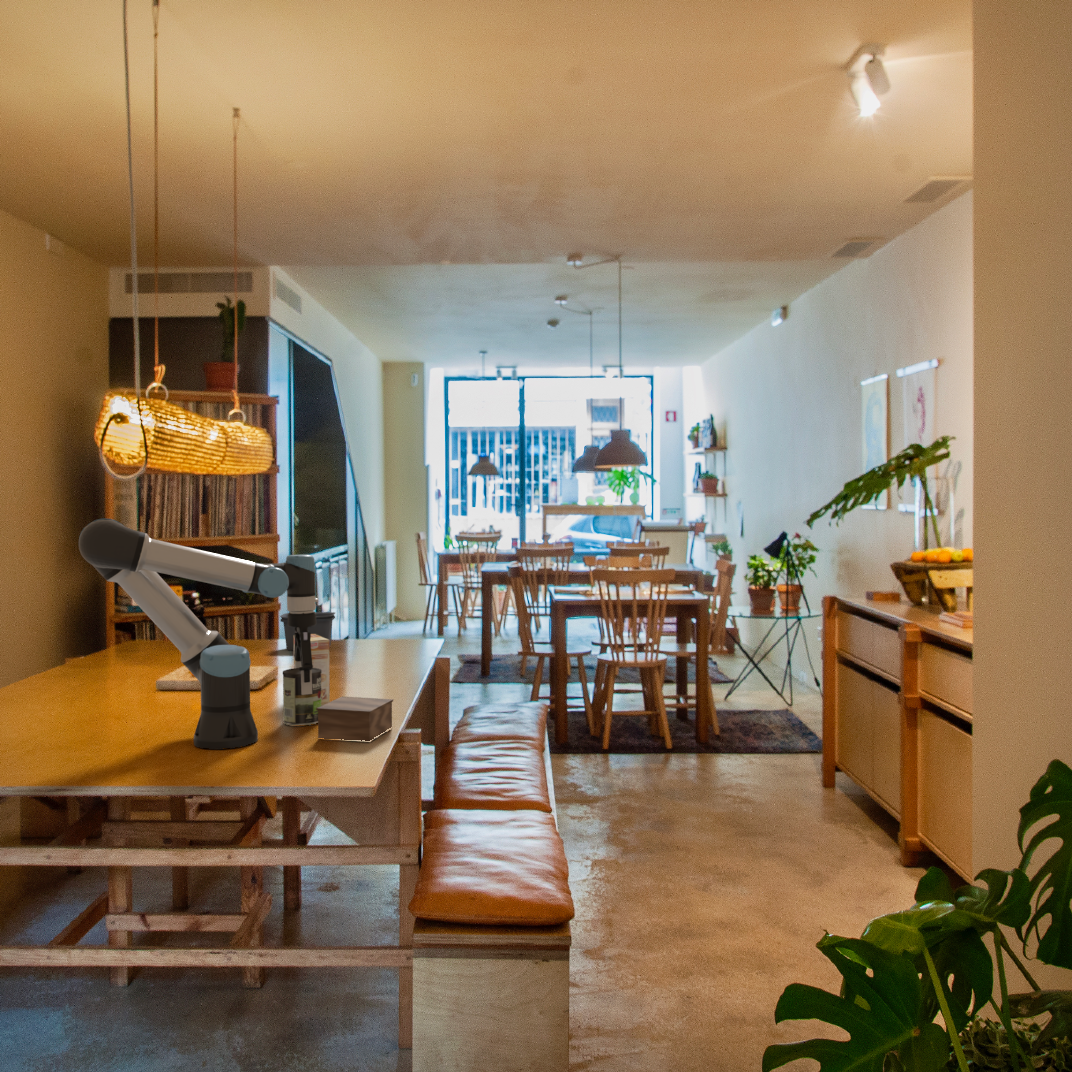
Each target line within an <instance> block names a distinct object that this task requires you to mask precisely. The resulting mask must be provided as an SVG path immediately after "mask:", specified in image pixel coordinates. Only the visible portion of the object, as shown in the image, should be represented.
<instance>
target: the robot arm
mask: <svg viewBox="0 0 1072 1072" xmlns="http://www.w3.org/2000/svg"><path fill="white" fill-rule="evenodd" d="M78 550H79V552H80V553H79V554H80V555H81V556H82V558H83V559H84V560H85V561H86V562H87V563H88V564H90V565H92V566H93V568H95V570H96V571H97V572H98V573H99V574H100V575H101V576H102V577H103V578H104V579H105V580H106V581H107V582H109V583H110V582H112V583H117V584H118V585H119V586H120V587H121V588H122V589H123V591H124V592H125V593H126V595H128V596H129V597H130V598H131V599H132V600H133V602H134V603H135V604H136V605H137V606H138V607H139V608H140V610H142V612H144V614H145V615H146V616H147V617H148V618H149V619H150V620H151V622H153V623H154V625H155V626H156V627H157V628H158V629H159V630H160V631H161V632H162V633H163V634H164V635H165V636H166V637H167V639H168V640H169V641H170V642H171V643H172V644H173V645H174V646H175V647H176V648H177V650H179V652H180V654H181V655H180V656H181V657H180V662H181V663H182V664H183V665H184V666H185V668H186V669H188V671H189V672H190V673H191V674H192V675H193V676H194V677H195V678H196V679H197V681H198V682H199V684H200V715H199V718H198V722H197V724H196V728H195V731H194V734H193V745H194V747H196V748H199V747H200V748H199V749H203V748H209V749H208V750H224V749H223V748H230V749H236V748H235V747H238V748H242V747H241V746H243V747H246V745H247V746H249V745H248V744H250V745H252V744H251V743H253V744H255V743H257V741H258V739H259V732H258V731H259V730H258V728H257V724H256V723H255V719H254V717H253V714H252V711H251V663H252V662H251V658H250V652H249V650H248V649H247V648H246V647H244V646H242V645H240V646H239V645H238V644H237V645H236V644H230V643H229V642H228V641H227V640H226V639H225V638H224V637H223V636H222V635H221V634H220V633H219V631H217V630H209V629H208V628H207V627H206V626H205V624H203V622H202V621H201V620H200V619H199V618H198V617H197V616H196V615H195V614H194V612H193V611H192V610H191V609H190V608H189V607H188V606H187V604H185V602H184V601H183V600H182V599H181V598H180V597H179V595H177V594H176V593H175V591H174V590H173V589H172V587H170V586H169V584H168V583H167V582H166V581H165V580H164V579H163V578H162V576H160V574H165V575H170V576H173V577H178V578H183V579H187V580H192V581H197V582H202V583H207V584H211V585H215V586H221V587H225V588H229V589H235V590H238V591H242V592H243V593H246V594H248V593H252V594H257V595H262V596H264V597H267V598H272V599H273V598H278V597H281V596H283V594H285V593H286V604H287V605H286V611H288V626H289V627H294V628H295V633H294V637H295V650H293V658H294V657H295V661H297V662H295V668H299V671H301V694H302V695H306V694H312V668H313V665H312V655H311V641H310V639H311V634H310V632H308V627H312V626H315V625H316V613H315V610H316V609H317V605H316V603H318V602H319V599H318V598H317V597H316V573H317V572H316V571H317V570H316V564H315V557H314V556H313V555H311V554H290V555H289V554H288V555H287V556H286V558H285V562H280V563H276V562H275V563H258V562H253V561H250V560H245V559H241V558H237V557H233V556H228V555H224V554H220V553H217V552H216V553H214V552H210V551H206V550H203V549H202V550H201V549H198V548H193V547H190V546H184V545H181V544H176V543H171V542H168V541H163V540H159V539H154V538H151V537H150V536H149V534H148V533H146V532H143V531H138V530H135V529H133V528H130V527H127V526H125V525H124V524H123V523H121V522H119V521H117V520H116V519H112V518H104V517H103V518H98V519H95V520H93V521H92V522H90V523H88V524H86V526H84V527H83V528H82V530H81V531H80V535H79V538H78ZM159 573H160V574H159ZM254 742H255V743H254Z"/></svg>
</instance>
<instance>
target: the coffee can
mask: <svg viewBox="0 0 1072 1072" xmlns="http://www.w3.org/2000/svg"><path fill="white" fill-rule="evenodd" d="M321 673H322V670H321V669H318V668H312V694H306V695H302V694H301V671H299V668H294V667H293V668H288V669H285V670H282V675H283V676H282V690H283V691H282V694H283V695H282V697H283V699H282V702H283V711H282V712H283V722H284V723H283V724H284V725H285V724H286V725H285V726H288V725H309V726H312V725H311V724H315V725H317V724H316V723H318V710H316V708H318V707H320V706H321Z"/></svg>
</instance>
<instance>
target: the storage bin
mask: <svg viewBox="0 0 1072 1072" xmlns="http://www.w3.org/2000/svg"><path fill="white" fill-rule="evenodd" d="M314 612H315V611H314ZM288 613H289V612H288ZM288 613H287V612H286V613H283V614H281V615H279V617H280V622H282V623H283V629H284V638H285V639H284V640H285V646H286V650H287V651H294V637H293V636H294V633H295V628H294V627H289V626H288ZM315 613H316V625H315V626H312V627H308V632H310V634H316V635H318V636H321V637H323V638H326V639H329V648H330V647H331V642H332V629H333V620H334V619H336V616H335V614H336V612H334V611H333V612H331V611H329V612H328V611H327V612H326V611H325V612H324V611H323V612H322V611H321V612H319V611H317V612H315Z"/></svg>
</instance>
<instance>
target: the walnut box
mask: <svg viewBox="0 0 1072 1072" xmlns="http://www.w3.org/2000/svg"><path fill="white" fill-rule="evenodd" d="M393 702H394V698H393V699H392V698H391V699H390V698H373V697H359V696H358V697H357V696H341V697H338V698H336V699H333V700H332V701H331V700H330V702H329V703H327V704H325V705H322V706H320V707H318V708H316V710H318V724H317V739H318V738H324V739H341V740H342V739H344V740H361V741H362V740H365V741H370V740H372V739H374V737H376V736H378V735H380V734H381V733H383V732H385V731H386V730H387V729H389V728H391V727H392V728H393Z"/></svg>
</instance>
